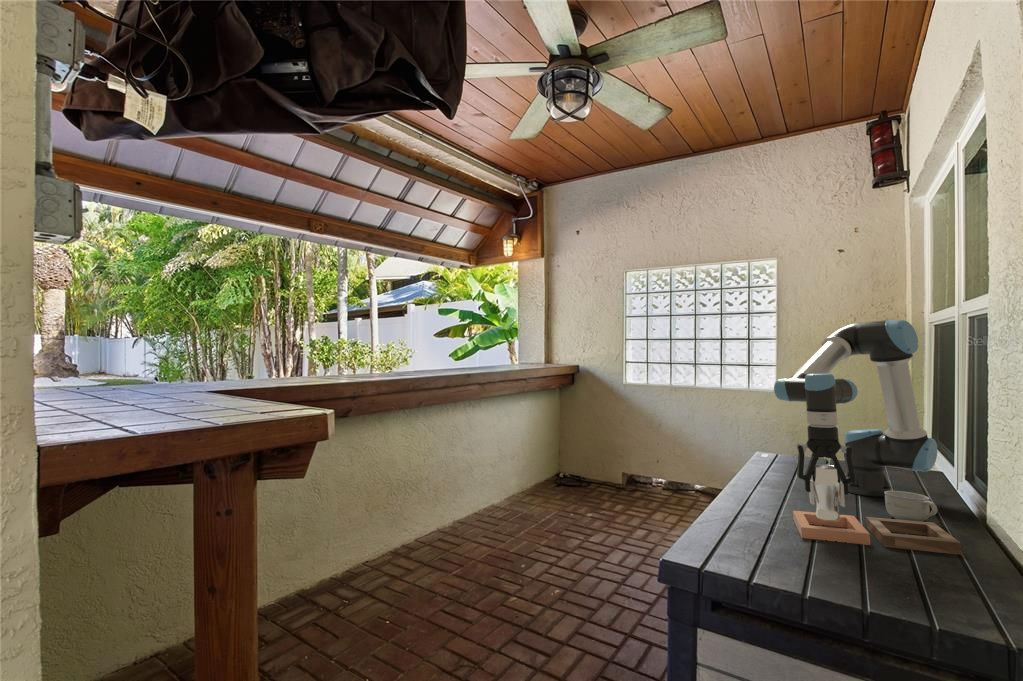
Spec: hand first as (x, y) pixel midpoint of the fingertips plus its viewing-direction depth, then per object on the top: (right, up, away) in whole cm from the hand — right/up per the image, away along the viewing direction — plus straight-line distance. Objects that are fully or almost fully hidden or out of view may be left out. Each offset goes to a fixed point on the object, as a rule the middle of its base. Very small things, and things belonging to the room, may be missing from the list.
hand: (827, 504), depth 137 cm
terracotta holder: (0, -8, 0) cm, 8 cm away
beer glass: (0, -4, 0) cm, 4 cm away
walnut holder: (+18, -7, -8) cm, 21 cm away
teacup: (+30, -8, +6) cm, 32 cm away
